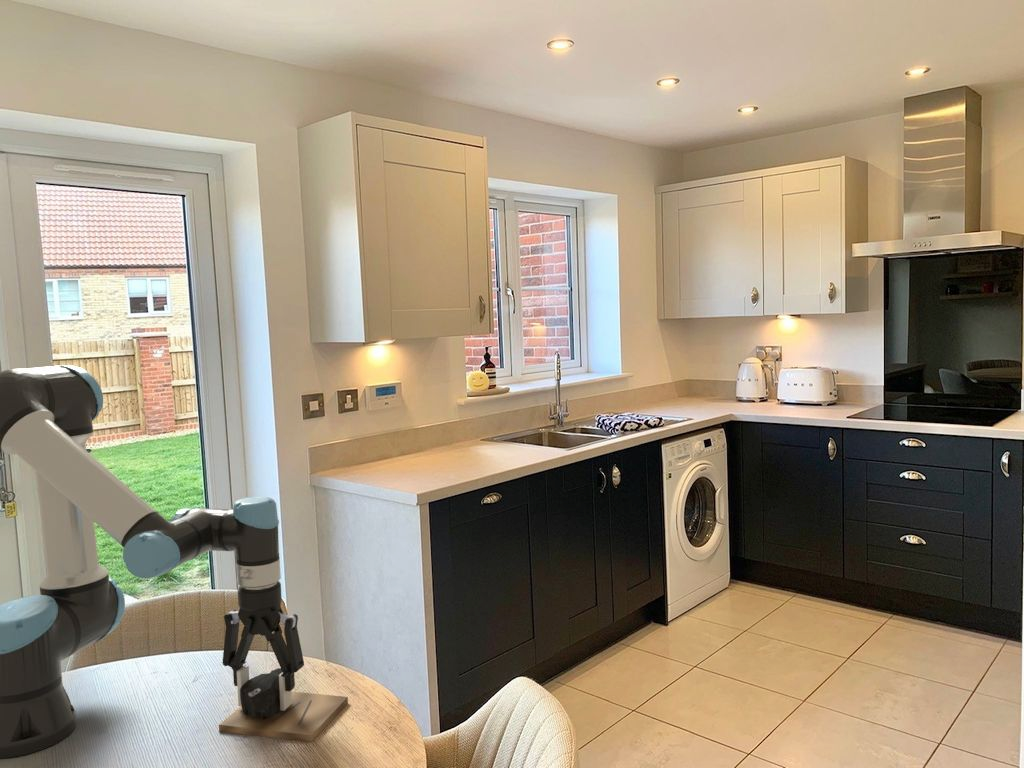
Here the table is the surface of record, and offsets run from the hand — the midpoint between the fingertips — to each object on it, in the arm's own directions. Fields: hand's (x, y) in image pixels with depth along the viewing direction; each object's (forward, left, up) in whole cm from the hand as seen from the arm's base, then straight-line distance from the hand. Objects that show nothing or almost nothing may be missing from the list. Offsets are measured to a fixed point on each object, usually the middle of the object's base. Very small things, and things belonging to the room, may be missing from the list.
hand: (265, 704), depth 144 cm
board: (+4, 0, -2) cm, 5 cm away
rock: (+1, 0, -1) cm, 1 cm away
